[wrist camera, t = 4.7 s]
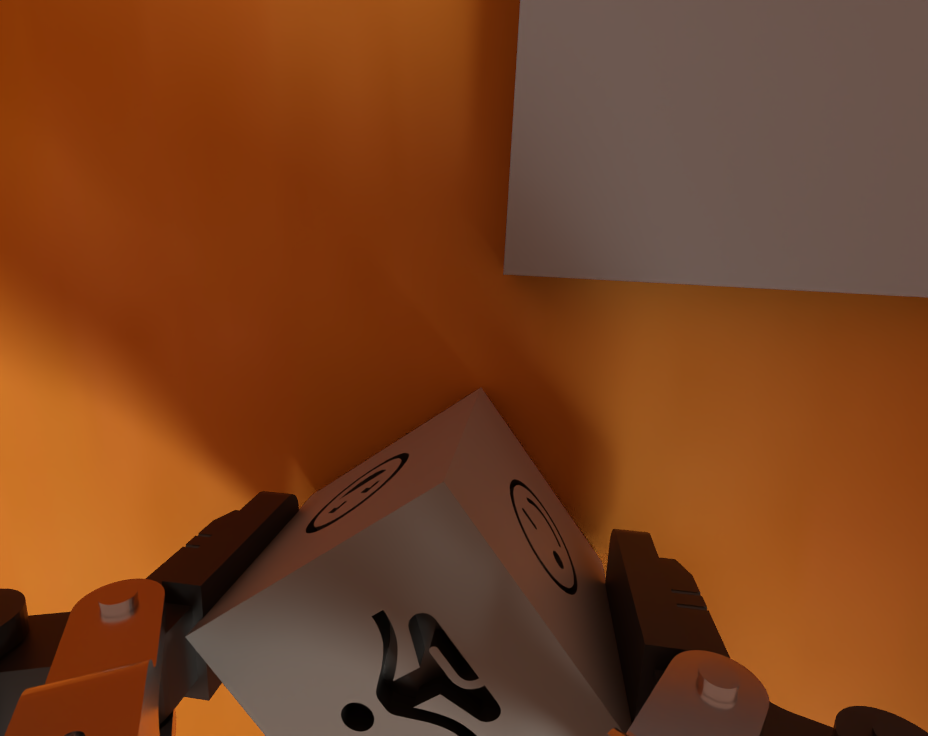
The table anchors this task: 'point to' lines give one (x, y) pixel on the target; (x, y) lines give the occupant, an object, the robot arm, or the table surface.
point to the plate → (722, 144)
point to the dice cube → (425, 601)
